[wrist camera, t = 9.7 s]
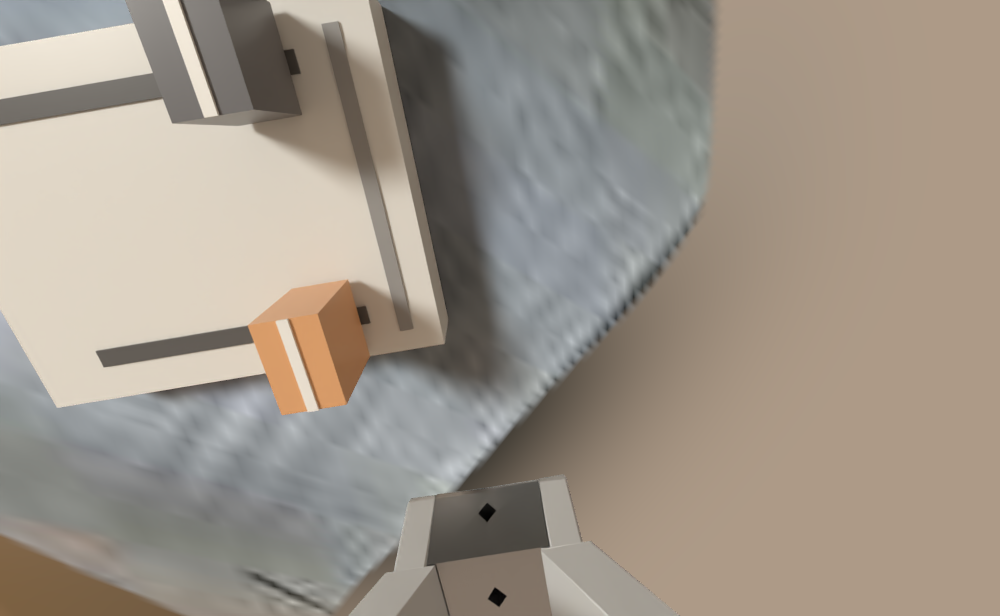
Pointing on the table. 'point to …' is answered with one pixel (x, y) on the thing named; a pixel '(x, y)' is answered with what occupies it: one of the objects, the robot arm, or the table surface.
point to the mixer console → (203, 208)
